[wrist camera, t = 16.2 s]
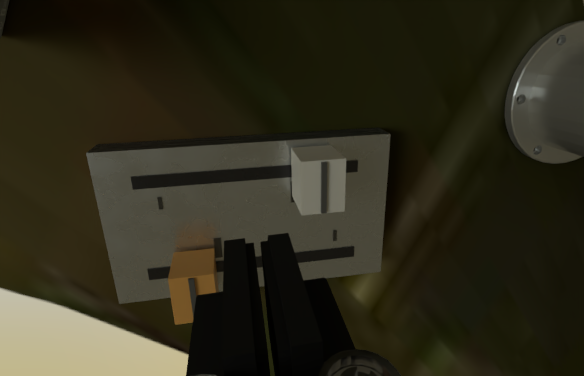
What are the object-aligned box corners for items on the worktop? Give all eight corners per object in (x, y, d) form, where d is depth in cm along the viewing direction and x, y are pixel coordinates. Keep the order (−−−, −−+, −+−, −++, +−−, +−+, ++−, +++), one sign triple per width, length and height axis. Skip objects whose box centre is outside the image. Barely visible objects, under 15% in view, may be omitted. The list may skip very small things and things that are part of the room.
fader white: (331, 145, 30) (347, 159, 26) (330, 192, 31) (345, 212, 28) (291, 147, 29) (301, 162, 26) (292, 195, 31) (302, 216, 27)
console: (378, 127, 33) (391, 134, 31) (370, 257, 38) (381, 272, 35) (96, 144, 29) (85, 153, 27) (126, 286, 34) (119, 304, 32)
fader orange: (214, 248, 31) (213, 275, 27) (218, 289, 33) (218, 320, 29) (173, 252, 31) (167, 280, 27) (179, 294, 32) (174, 326, 28)
